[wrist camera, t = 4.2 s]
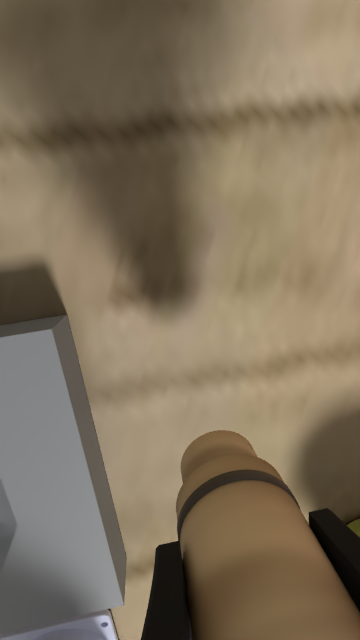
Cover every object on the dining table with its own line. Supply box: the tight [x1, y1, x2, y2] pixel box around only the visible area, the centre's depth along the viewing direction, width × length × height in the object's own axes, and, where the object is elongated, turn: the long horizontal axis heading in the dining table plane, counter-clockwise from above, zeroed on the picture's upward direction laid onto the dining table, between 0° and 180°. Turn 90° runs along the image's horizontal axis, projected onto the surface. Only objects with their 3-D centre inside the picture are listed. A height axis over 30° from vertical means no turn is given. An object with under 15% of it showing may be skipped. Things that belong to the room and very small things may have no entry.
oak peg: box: [176, 430, 360, 640], centre depth 9 cm, size 4×4×9 cm
